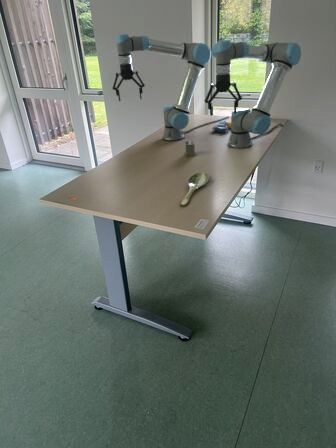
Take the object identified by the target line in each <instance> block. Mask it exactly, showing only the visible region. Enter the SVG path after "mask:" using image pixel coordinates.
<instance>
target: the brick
mask: <svg viewBox="0 0 336 448" xmlns="http://www.w3.org/2000/svg"><path fill="white" fill-rule="evenodd" d="M184 143H185V154H186V157H187V158H188V157H195V143H194V141H193V140H189V141H185V142H184Z"/></svg>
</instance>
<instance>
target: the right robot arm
mask: <svg viewBox="0 0 336 448" xmlns="http://www.w3.org/2000/svg"><path fill="white" fill-rule="evenodd" d="M211 56H212V57H214V58H215V73H216V76H215V84H214V83H210V86H209V89H208V92H207V94H206V96H205V98H204V103H205V104H207V109H208V110H209V116H210V117H212V116H213V104H212V102H213V100H214V99H215V98H216V97H217V95H218V94H219V93H227V92H228V93H229V94H230V95H231V97H232V98H233V99H234V101H233V110H232V111H231V116H230V117H231V118H230V122H231V128H230V135H229V139H228V140H227V146H228V147H229V148H234V149H244V148H249V147H251V145H252V140H254V139H256V138H258V137H261V136H263V135H266V134H268V133H270V132H271V131H272V130H273V129H275V128H277V127H279V126H283V123H282V124H281V123H278V124H276V125H275V126H274V125H273V127H272V128H271V129H270V127H271V124H272V120H271V109H272V106H273V104H274V102H275V100H276V99H277V98H276V97H277V96H278V93H279V91H280V89H281V86H282V84H283V82H284V80H285V78H286V76H287V73H288V72H290V71H292V68H293V67H294V66H296V65H298V64H299V63H300V61H301V58H302V49H301V46H300V44H298V43H296V42H292V41H291V42H272V43H270V42H269V43H260V44H259V45H257V44H256V45H255V44H248V43H247V42H245V41H243V42H242V41H241V42H231V40H229V39H226V40H225V39H224V40H218V41H217V42H216V43H214V44H213V46H212V47H211ZM233 60H256V61H257V62H260V63H266V64H271V66H272V69H271V71H270V74H269V76H268V78H267V80H266V82H265V85H264V87H263V90H262V92H261V94H260V97H259V99H258V101H257V103H256V105H255V106H254V107H252V108H251V109H250V108H247V107H245V108H238V107H239V101H242V99H243V98H242V96H241V93H240V91H239V90H238V87H237V83H236V82H235V81H233V82H231V63H232V61H233ZM231 87H232V88H233V89H234V91H235V93H236V95H237V96H236V95H235V94H234V92H233V91H232V90H231V89H230V88H231ZM215 88H216V89H215ZM214 89H215V90H214ZM213 90H214V92H213ZM212 92H213V94H212ZM237 108H238V109H237ZM250 134H253V135H255V136H253V137H251V135H250Z"/></svg>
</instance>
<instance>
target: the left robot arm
mask: <svg viewBox="0 0 336 448" xmlns="http://www.w3.org/2000/svg"><path fill="white" fill-rule="evenodd" d="M115 40H116V48H117V55H118V56H117V57H118V63H119V70H120V71H119V72H115V79H114V82H113V85H112V90H115V94H116V97H117V96H118V101H119V102H121V93H120V90H119V88H120V87H121V85H122V83H123V82H124V81H131V80H132V81H133V83H135V84H136V86H138V87H139V88H138V91H139V98H140V99H139V100H142V94H143V93H144V92H143V88H145V87H146V84H145V83H144V81H143V79H142V77H141V76H140V74H139V71H138V70H136V71H134V69H133V63H132V61H133V60H132V54H131V52H146V53H152V54H158V55H164V56H170V57H171V56H172V57H178V58H179V59H180V60H185V61H187V62H186V64H187V69H186V73H185V76H184V79H183V82H182V86H181V88H180V91H179V94H178V97H177V101H176V104H174V105H166V106H164V107H163V108H162V109H163V111H162V112H163V121H164V130H163V135H162V139H163V140H164V141H167V142H176V141H180V140H182V139H184V137H185V136H184V134H187V133H189V132H191V131H193V130H195V129H198V128H200V127H203V126H207V125H209V124H213V123H218V122H219V121H224V120H225V119H229V118H230V116H226V117H223V118H220V119H217V120H213V121H210V122H206V123H203V124H199V125H198V126H195V127H192V128H190V129H188V130H187V131H183V129H185V128H187V126H188V125H189V123H190V118H189V116H190V108H189V107H190V105H191V103H192V98H193V96H194V92H195V90H196V87H197V85H198V80H199V78H200V74H201V72H202V71H203V70H205V67H206V64H208V63H209V62H210V61H211V58H212V50H211V48H210V46H208V45H207V44H206V43H202V42H181V43H177V42H172V41H165V40H160V39H154V38H149V36H148V35H140V36H139V35H138V36H136V35H132V36H129V33H121V34H117V35H116V36H115ZM134 75H135V76H136V77H137V79H138V80H139V81H138V80H137V79H136V78H135V77H134ZM119 77H121V79H120V80H119V81H118V79H119ZM117 82H118V84H117ZM116 85H117V86H116Z"/></svg>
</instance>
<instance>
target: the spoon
mask: <svg viewBox="0 0 336 448" xmlns="http://www.w3.org/2000/svg"><path fill="white" fill-rule="evenodd" d="M209 180H210V176H209V174H208V173H206V172H203V171H200V172H199V171H198V172H195V173H194V174H192V175H191V176H189V178H188V180H187V185H188V187H189V188H188V189H189V190H188V192H187V193H186V195H185V196H184V197H183V198H182V200H181V202H180V206H183V207H185V206H187V205H188V203H189V201H190V199H191V197H192V195H193V193H194V191H196V190H197V189H199V188H201V187H203V186H205V185H206V184H207V183H208V182H209Z"/></svg>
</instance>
